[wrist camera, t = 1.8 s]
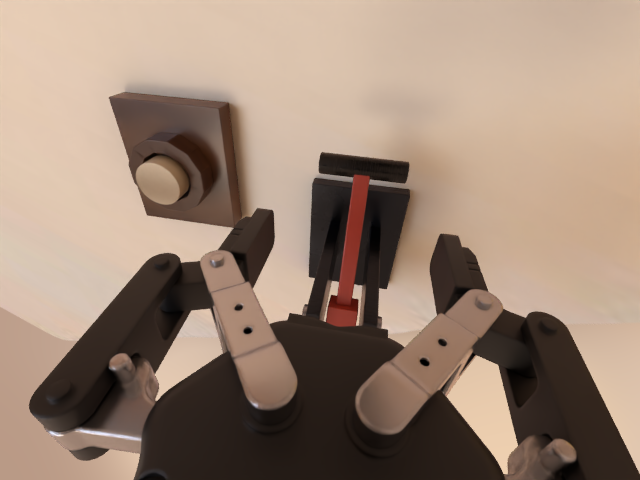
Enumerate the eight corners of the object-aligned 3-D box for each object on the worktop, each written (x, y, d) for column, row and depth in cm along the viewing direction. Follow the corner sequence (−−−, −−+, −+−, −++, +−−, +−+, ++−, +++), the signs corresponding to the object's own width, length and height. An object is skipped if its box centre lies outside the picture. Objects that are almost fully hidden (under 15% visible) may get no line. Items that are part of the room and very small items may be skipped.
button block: (123, 92, 29) (90, 102, 26) (228, 102, 28) (208, 114, 25) (157, 206, 36) (135, 225, 33) (242, 218, 35) (227, 239, 32)
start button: (142, 152, 28) (129, 160, 27) (184, 157, 28) (174, 165, 26) (154, 192, 30) (142, 201, 29) (193, 198, 30) (184, 207, 29)
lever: (323, 153, 23) (319, 151, 21) (406, 162, 23) (411, 161, 20) (304, 322, 26) (298, 337, 24) (377, 334, 26) (378, 351, 23)
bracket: (314, 177, 31) (275, 267, 20) (409, 189, 30) (421, 290, 19) (310, 270, 38) (280, 372, 27) (386, 282, 37) (386, 393, 26)
